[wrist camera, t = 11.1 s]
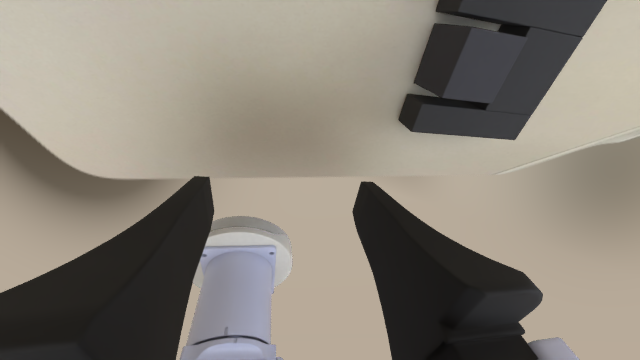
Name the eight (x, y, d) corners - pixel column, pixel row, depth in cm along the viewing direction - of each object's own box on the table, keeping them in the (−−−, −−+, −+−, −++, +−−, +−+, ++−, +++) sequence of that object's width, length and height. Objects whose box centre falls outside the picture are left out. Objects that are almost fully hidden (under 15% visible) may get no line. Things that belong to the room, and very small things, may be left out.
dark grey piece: (494, 128, 23) (515, 140, 21) (398, 120, 21) (411, 132, 19) (571, -3, 17) (610, -4, 15) (449, -32, 15) (476, -39, 13)
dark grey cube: (456, 88, 20) (492, 103, 17) (413, 82, 19) (441, 98, 16) (482, 32, 18) (528, 37, 14) (434, 23, 17) (472, 26, 13)
